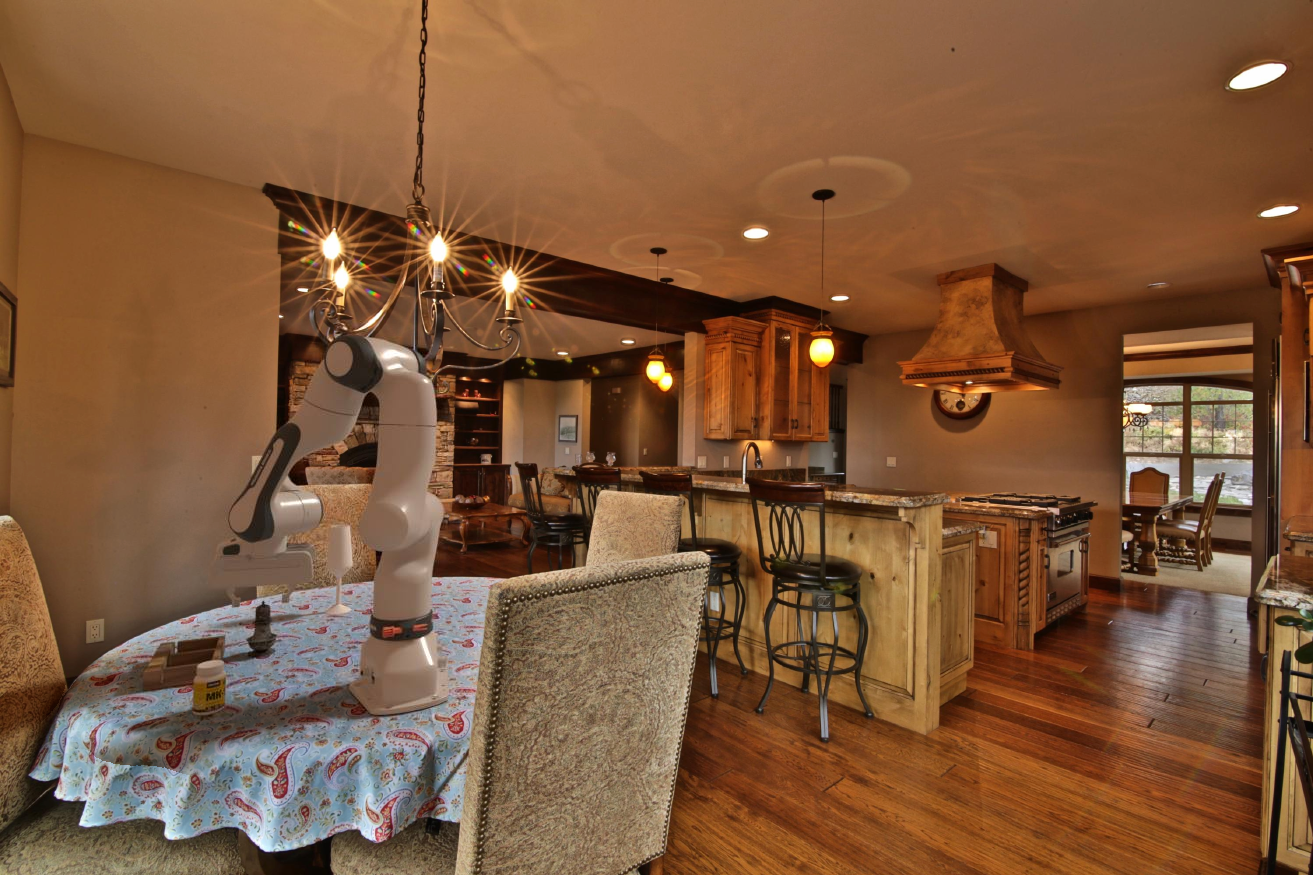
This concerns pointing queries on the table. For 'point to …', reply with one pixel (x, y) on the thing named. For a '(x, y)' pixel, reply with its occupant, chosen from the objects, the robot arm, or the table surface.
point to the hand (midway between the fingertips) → (261, 604)
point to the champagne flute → (339, 561)
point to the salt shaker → (262, 633)
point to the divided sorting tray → (181, 661)
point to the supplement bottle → (209, 688)
